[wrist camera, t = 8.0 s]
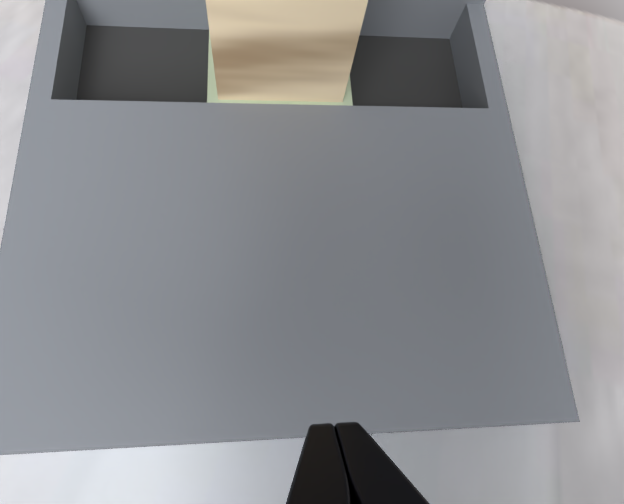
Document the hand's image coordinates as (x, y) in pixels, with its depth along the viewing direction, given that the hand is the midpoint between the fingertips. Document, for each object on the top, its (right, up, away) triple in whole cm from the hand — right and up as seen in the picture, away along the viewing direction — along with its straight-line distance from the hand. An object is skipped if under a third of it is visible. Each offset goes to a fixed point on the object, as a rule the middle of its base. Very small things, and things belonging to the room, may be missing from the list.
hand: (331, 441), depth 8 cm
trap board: (-2, +6, +16) cm, 18 cm away
